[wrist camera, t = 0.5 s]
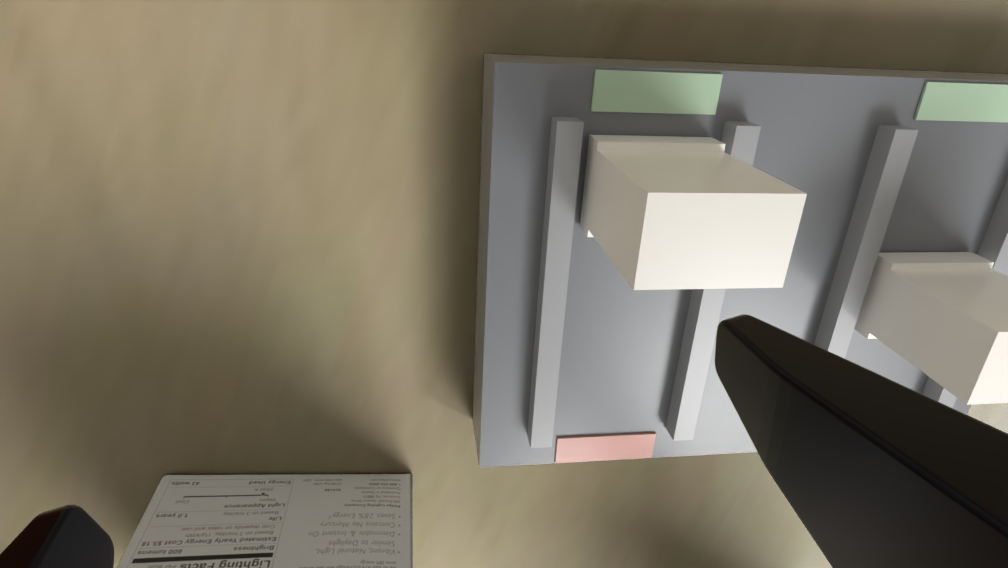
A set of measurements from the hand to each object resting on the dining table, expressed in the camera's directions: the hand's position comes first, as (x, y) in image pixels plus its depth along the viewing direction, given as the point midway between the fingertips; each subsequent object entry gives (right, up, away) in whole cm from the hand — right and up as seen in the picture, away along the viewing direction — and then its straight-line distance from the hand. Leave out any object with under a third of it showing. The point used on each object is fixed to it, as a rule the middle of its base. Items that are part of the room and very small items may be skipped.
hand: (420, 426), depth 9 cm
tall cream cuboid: (+6, +5, +11) cm, 14 cm away
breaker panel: (+11, +3, +17) cm, 20 cm away
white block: (+16, +2, +15) cm, 22 cm away
